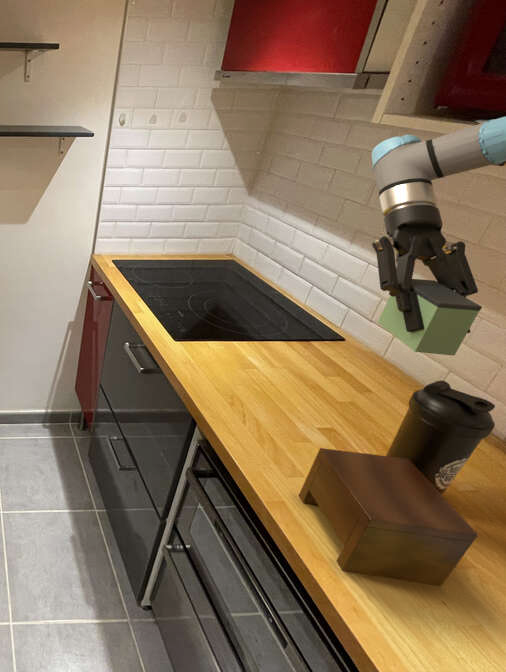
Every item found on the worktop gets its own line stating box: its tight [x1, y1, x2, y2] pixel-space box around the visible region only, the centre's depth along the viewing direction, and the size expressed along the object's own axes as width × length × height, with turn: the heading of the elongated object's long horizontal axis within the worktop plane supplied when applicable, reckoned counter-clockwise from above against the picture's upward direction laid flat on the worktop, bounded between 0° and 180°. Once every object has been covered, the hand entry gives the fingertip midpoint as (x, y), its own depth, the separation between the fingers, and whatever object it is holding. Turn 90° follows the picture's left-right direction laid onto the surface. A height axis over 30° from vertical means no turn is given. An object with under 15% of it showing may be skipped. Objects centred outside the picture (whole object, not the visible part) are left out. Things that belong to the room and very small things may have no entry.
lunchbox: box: [377, 278, 483, 356], centre depth 79 cm, size 6×10×10 cm, turn 170°
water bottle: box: [385, 380, 496, 496], centre depth 80 cm, size 10×10×23 cm
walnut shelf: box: [298, 447, 479, 587], centre depth 74 cm, size 14×14×12 cm
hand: (437, 331), depth 76 cm, fingers closed on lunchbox, 6 cm apart
